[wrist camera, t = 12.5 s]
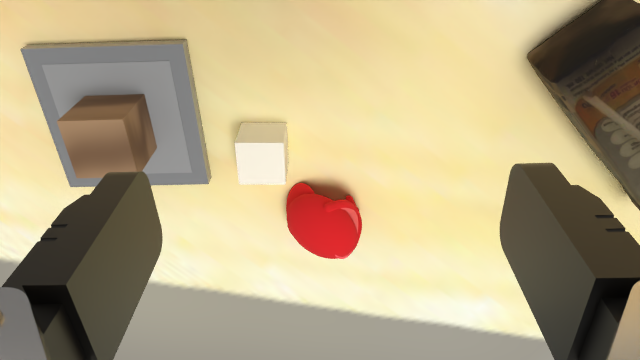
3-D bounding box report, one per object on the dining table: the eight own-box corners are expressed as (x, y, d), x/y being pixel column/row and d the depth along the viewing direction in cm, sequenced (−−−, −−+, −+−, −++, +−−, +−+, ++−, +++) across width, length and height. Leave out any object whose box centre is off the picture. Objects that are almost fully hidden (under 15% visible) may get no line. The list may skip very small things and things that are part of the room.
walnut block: (85, 95, 41) (56, 121, 36) (144, 94, 40) (122, 119, 36) (101, 148, 43) (76, 178, 39) (157, 147, 43) (138, 176, 39)
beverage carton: (623, 198, 47) (663, 241, 41) (517, 54, 40) (548, 83, 34) (708, 148, 44) (763, 188, 38) (610, -17, 37) (660, 2, 31)
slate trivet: (28, 44, 40) (19, 49, 39) (186, 39, 39) (182, 44, 38) (76, 180, 46) (70, 187, 45) (211, 177, 46) (208, 184, 45)
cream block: (241, 122, 43) (234, 142, 40) (286, 122, 43) (283, 142, 40) (245, 161, 45) (239, 184, 42) (288, 161, 45) (285, 184, 42)
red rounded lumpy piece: (386, 220, 44) (346, 208, 40) (354, 274, 45) (312, 268, 41) (332, 180, 50) (292, 166, 45) (304, 230, 51) (262, 220, 46)
